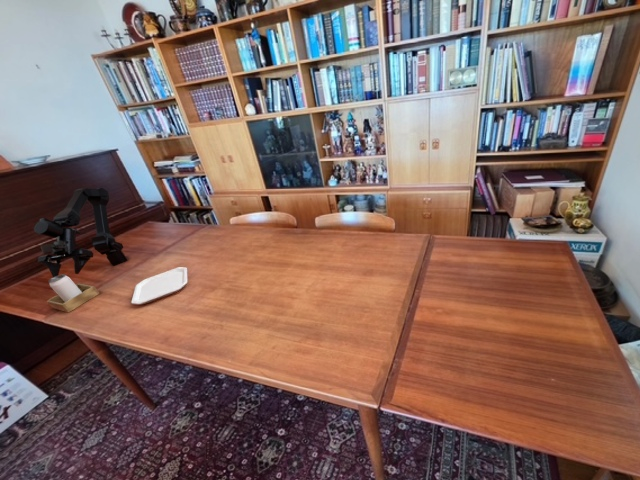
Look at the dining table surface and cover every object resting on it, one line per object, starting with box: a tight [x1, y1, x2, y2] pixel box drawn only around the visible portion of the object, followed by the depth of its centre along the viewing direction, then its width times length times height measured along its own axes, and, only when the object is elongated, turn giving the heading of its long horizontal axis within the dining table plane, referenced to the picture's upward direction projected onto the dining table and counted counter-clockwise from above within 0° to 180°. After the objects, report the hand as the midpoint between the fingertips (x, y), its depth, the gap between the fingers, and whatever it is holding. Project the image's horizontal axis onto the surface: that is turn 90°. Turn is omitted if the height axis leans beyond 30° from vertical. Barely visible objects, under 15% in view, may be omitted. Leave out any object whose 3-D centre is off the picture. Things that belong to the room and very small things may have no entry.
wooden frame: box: [46, 283, 100, 313], centre depth 126 cm, size 12×12×4 cm
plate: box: [130, 266, 188, 306], centre depth 124 cm, size 21×21×2 cm
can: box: [47, 274, 82, 303], centre depth 124 cm, size 6×6×12 cm
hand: (65, 276), depth 124 cm, fingers open, 9 cm apart
